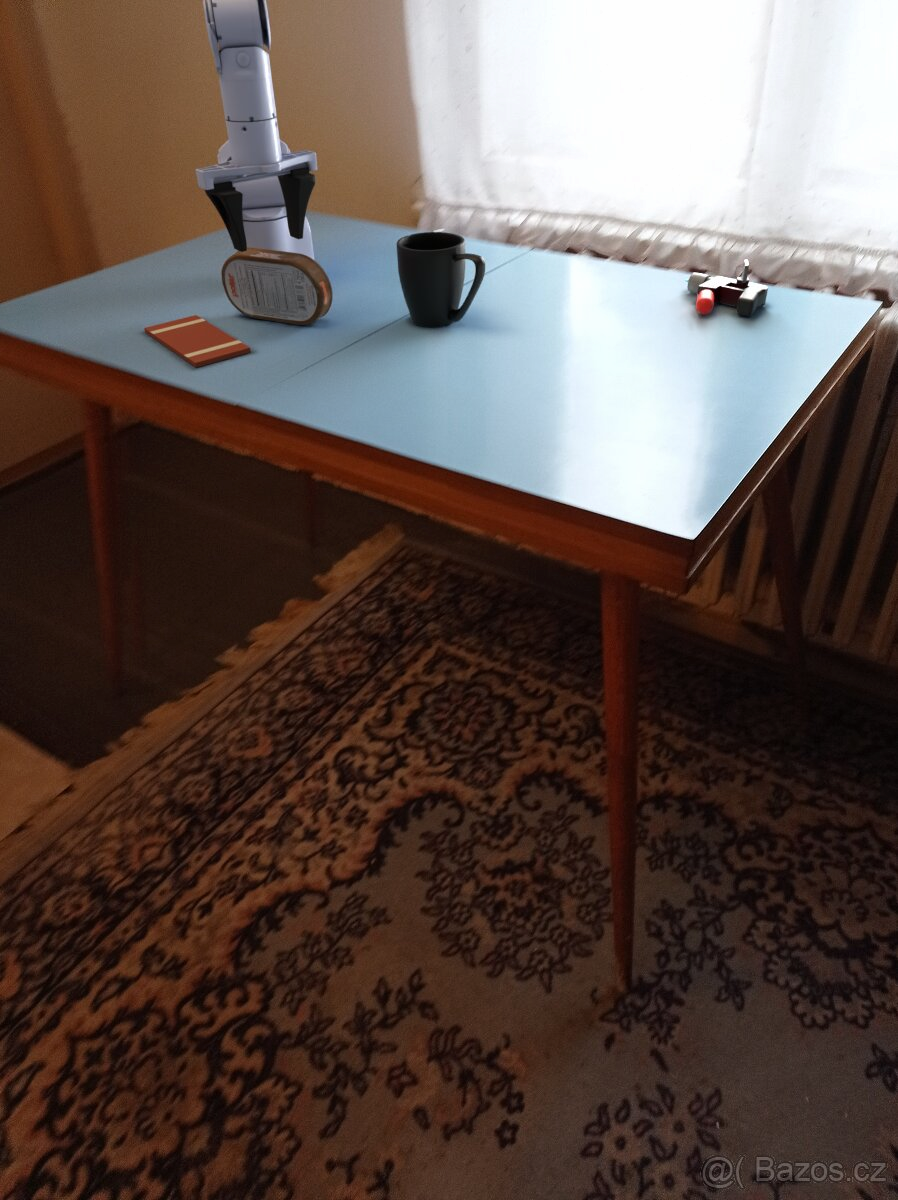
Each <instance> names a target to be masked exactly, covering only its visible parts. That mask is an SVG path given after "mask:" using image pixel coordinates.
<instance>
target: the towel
mask: <svg viewBox="0 0 898 1200" xmlns="http://www.w3.org/2000/svg"><path fill="white" fill-rule="evenodd" d="M143 330H144V333H145V334H147V335H148V336H150V338H152V339H154V341H155V340H156V341H157V342H158V343H160V344H161V345H162V346H164V347H166V348H167V349H168V350H170V351H171V352H173V353H174V354H176V355H177V356H178V357H180V358H181V359H183V360H184V361H186V362H187V363H189V364H190V365H192V366H193V367H194V368H201V367H203V366H207V365H210V364H214V363H218V362H220V361H225V360H228V359H232V358H235V357H239V356H242V355H246V354H249V353H252V350H251V347H250V346H249V345H247V344H245V343H244V342H243V341H241V340H240V339H237V338H235V337H233V336H232V335H230V334H228V333H227V332H225V331H223V330H222V329H220V328H218V327H217V326H215V325H213V324H212V323H211V322H209V321H207V320H206V319H205V318H202V317H200V316H198V315H197V314H194V315H191V316H185V317H182V318H177V319H175V320H171V321H167V322H163V323H162V322H161V323H159V324H155V325H150V326H146V327H144V328H143Z"/></svg>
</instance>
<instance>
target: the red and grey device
mask: <svg viewBox="0 0 898 1200" xmlns="http://www.w3.org/2000/svg"><path fill="white" fill-rule="evenodd" d="M749 261H750V260H749V259H748V258H744V260H743V266H742V272H741V276H737V277H736V278H730V277H726V276H720V275H716V276H715V277H712V276H711V275H710V274H704V273H700V272H692V273H691V275H690V276H689V278H688V279H685V280H684V281H685V282H687V286H686V287H687V291H688V293H692V294H696V302H695V309H696V311H697V312H698V313H699V314H701V315H708V314H709V313H710V312H712V310H713V308H714V305H715V304H717V303H719V304H724V305H728V306H732V307H735V308H736V314H737V315H741V316H745V317H751V316H752V315H753V314H754V313H755V311H756V309H757V308H759V307H764V306H765V305H766V301H767V296H768V292H769V291H768V290H769V287H768V286H767V285H765V284H760V283H755V282H750V278H749V277H748V274H749V267H750V262H749Z"/></svg>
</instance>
